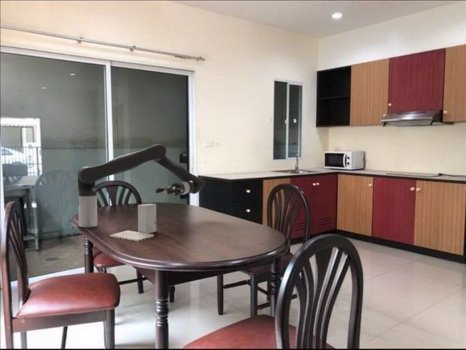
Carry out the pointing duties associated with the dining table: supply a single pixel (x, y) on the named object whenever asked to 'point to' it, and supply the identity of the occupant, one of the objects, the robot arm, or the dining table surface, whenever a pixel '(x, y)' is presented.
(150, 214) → the skincare box
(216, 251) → the dining table surface
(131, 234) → the mat
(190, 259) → the dining table surface
